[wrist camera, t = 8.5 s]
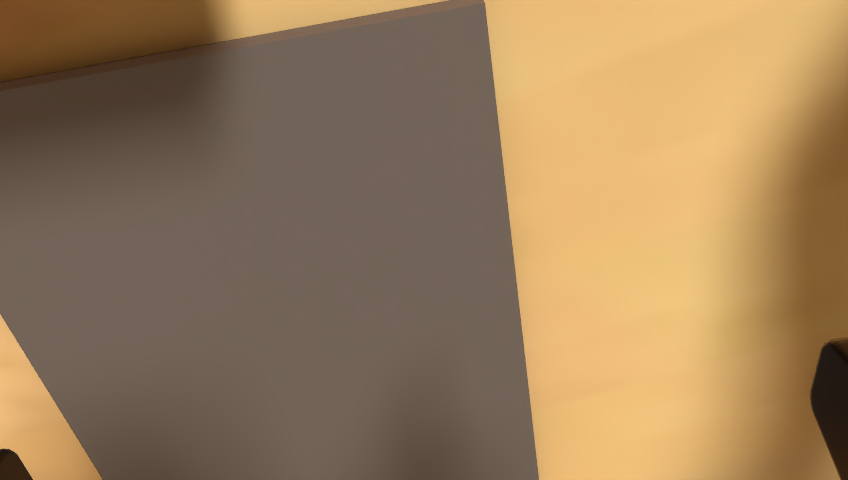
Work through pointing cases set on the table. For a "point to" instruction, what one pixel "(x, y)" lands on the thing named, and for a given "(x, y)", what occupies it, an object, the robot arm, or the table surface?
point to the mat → (273, 255)
